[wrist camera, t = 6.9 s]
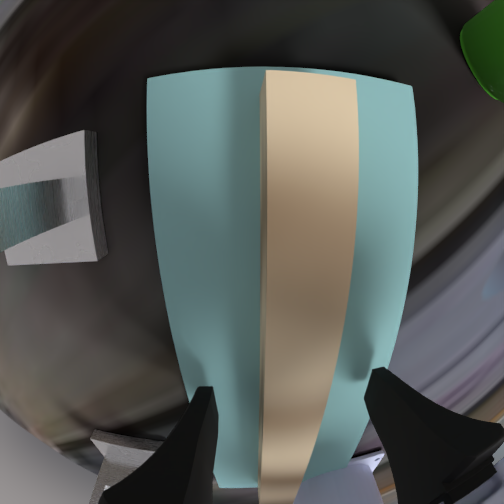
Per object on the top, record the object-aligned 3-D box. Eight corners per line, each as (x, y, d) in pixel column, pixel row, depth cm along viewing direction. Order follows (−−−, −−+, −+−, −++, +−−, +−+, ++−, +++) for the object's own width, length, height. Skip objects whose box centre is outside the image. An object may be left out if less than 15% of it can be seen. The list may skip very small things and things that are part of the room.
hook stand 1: (108, 253, 10) (10, 331, 4) (19, 259, 10) (-63, 310, 4) (96, 132, 9) (-22, 116, 3) (7, 162, 8) (-87, 177, 3)
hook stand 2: (186, 471, 15) (178, 534, 9) (118, 461, 15) (102, 516, 9) (170, 441, 14) (156, 518, 8) (94, 429, 14) (68, 492, 8)
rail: (288, 481, 15) (292, 504, 13) (257, 483, 15) (259, 507, 13) (328, 99, 8) (355, 79, 6) (259, 94, 8) (265, 69, 6)
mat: (340, 467, 16) (342, 474, 15) (219, 480, 16) (219, 487, 15) (402, 90, 8) (411, 86, 8) (153, 84, 8) (147, 78, 7)
